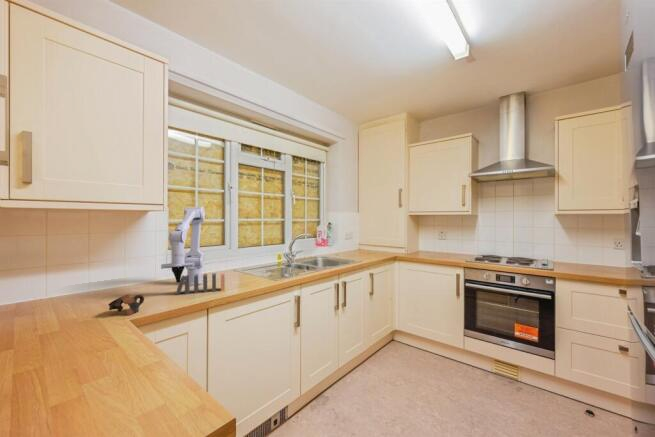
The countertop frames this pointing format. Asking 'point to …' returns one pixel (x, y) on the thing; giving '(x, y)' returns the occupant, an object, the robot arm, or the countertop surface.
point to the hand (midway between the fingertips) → (178, 281)
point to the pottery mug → (127, 300)
